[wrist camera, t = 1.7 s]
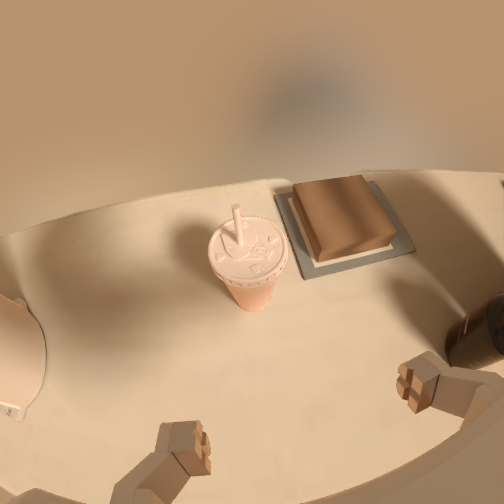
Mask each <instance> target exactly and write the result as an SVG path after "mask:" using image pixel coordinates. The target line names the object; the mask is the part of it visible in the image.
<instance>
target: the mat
mask: <svg viewBox="0 0 504 504" xmlns="http://www.w3.org/2000/svg"><path fill="white" fill-rule="evenodd" d="M367 184H368V185H369V187H370V189H371V190H372V192H373V193H374V195H375V196H376V198H377V199H378V201H379V203H380V204H381V206H382V207H383V209H384V211H385V212H386V214H387V216H388V217H389V219H390V221H391V222H392V224H393V226H394V228H395V229H396V231H397V232H396V234H395V236H394V238H393V239H392V241H391V243H390V244H389V246H386V247H382V248H378V249H374V250H370V251H366V252H362V253H358V254H354V255H349V256H345V257H341V258H337V259H333V260H328V261H324V262H320V263H317V260H316V258H315V255H314V252H313V250H312V247H311V245H310V242H309V240H308V237H307V235H306V232H305V230H304V227H303V225H302V223H301V220H300V218H299V215H298V213H297V211H296V208H295V206H294V203H293V201H292V197H293V193H287V194H281V195H275V199H276V202H277V204H278V207H279V210H280V213H281V215H282V218H283V221H284V223H285V226H286V229H287V232H288V234H289V237H290V240H291V243H292V245H293V248H294V251H295V254H296V257H297V260H298V262H299V265H300V268H301V271H302V274H303V277H304V280H307V279H311V278H316V277H320V276H324V275H328V274H332V273H336V272H340V271H344V270H348V269H352V268H356V267H359V266H363V265H367V264H371V263H375V262H378V261H382V260H386V259H389V258H393V257H397V256H400V255H404V254H407V253H411V252H414V251H416V248H415V246H414V245H413V243H412V241H411V239H410V237H409V236H408V234H407V232H406V230H405V229H404V227H403V225H402V224H401V222H400V220H399V219H398V217H397V215H396V214H395V212H394V210H393V209H392V207H391V206H390V204H389V203H388V201H387V199H386V198H385V196H384V195H383V193H382V192H381V190H380V189H379V187H378V186H377V184H376V183H375V182H374V181H369V182H367Z"/></svg>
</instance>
